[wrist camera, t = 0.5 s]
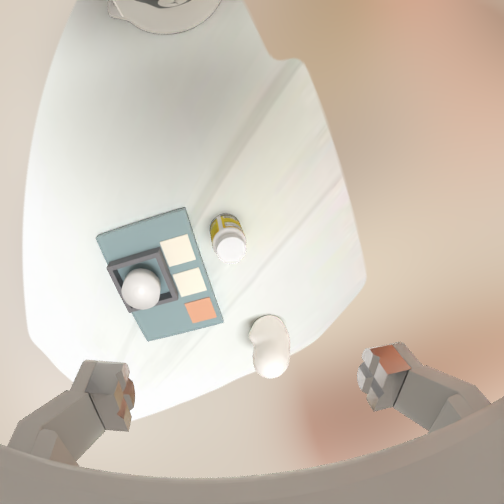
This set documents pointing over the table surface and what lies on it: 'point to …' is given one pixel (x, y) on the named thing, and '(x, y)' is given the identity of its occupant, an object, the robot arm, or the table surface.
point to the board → (164, 273)
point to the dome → (141, 289)
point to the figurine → (270, 346)
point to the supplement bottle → (228, 239)
